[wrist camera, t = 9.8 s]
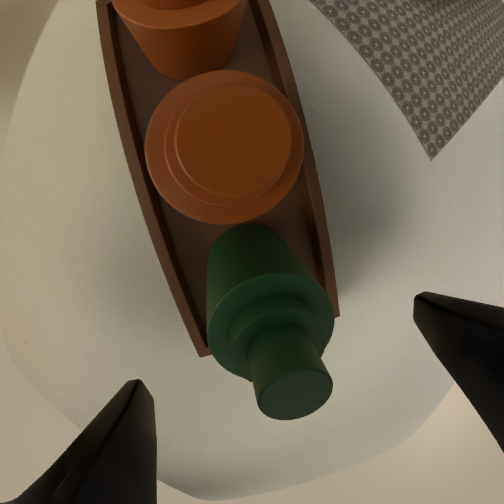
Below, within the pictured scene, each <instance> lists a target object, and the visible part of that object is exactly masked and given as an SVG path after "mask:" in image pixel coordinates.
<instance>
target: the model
mask: <svg viewBox="0 0 504 504" xmlns="http://www.w3.org/2000/svg"><path fill="white" fill-rule="evenodd" d="M310 1H311V2H312V3H313V4H314V5H315V6H316V7H317V8H318V9H320V10H321V11H322V12H323V13H324V14H325V15H326V16H327V17H328V18H329V19H330V21H331V22H332V23H333V24H334V25H335V26H336V27H337V28H338V29H339V30H340V31H341V32H342V33H343V34H344V36H345V37H346V38H347V39H348V40H349V41H350V42H351V43H352V45H353V46H354V47H355V48H356V49H357V50H358V52H359V53H360V54H361V55H362V56H363V58H364V59H365V60H366V61H367V63H368V64H369V65H370V66H371V68H372V69H373V70H374V72H375V73H376V74H377V76H378V77H379V78H380V80H381V81H382V82H383V84H384V85H385V86H386V88H387V89H388V91H389V92H390V94H391V95H392V96H393V98H394V99H395V101H396V102H397V104H398V105H399V107H400V108H401V110H402V111H403V113H404V114H405V116H406V118H407V119H408V121H409V122H410V124H411V126H412V127H413V129H414V131H415V132H416V134H417V136H418V137H419V139H420V141H421V143H422V144H423V146H424V148H425V150H426V152H427V154H428V155H429V157H430V159H431V161H432V159H433V158H434V157H435V156H436V155H437V154H438V153H439V152H440V151H441V150H442V149H443V147H444V146H445V145H446V144H447V143H448V142H449V141H450V140H451V139H452V137H453V136H454V135H455V134H456V133H457V132H458V131H459V129H460V128H461V127H462V126H463V125H464V124H465V123H466V121H467V120H468V119H469V118H470V117H471V116H472V114H473V113H474V112H475V111H476V110H477V108H478V107H479V106H480V105H481V104H482V102H483V101H484V100H485V99H486V97H487V96H488V95H489V94H490V93H491V91H492V90H493V89H494V88H495V86H496V85H497V84H498V82H499V81H500V80H501V79H502V77H503V76H504V3H503V1H502V0H310Z"/></svg>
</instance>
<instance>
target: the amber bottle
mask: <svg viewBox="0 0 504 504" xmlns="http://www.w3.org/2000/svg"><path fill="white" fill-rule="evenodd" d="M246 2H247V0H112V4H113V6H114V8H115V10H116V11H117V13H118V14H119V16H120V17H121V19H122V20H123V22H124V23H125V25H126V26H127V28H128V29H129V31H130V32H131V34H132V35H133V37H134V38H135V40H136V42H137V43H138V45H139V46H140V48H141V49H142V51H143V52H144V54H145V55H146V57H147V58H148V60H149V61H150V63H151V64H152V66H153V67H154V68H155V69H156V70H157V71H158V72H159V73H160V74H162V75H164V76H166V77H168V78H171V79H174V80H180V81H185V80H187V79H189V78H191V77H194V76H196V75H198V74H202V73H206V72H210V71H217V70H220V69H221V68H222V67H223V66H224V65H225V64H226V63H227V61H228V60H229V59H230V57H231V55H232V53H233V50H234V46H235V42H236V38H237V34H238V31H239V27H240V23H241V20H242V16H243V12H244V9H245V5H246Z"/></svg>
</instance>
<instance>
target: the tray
mask: <svg viewBox="0 0 504 504" xmlns="http://www.w3.org/2000/svg"><path fill="white" fill-rule="evenodd" d="M96 8H97V18H98V26H99V33H100V40H101V46H102V53H103V58H104V64H105V70H106V75H107V80H108V85H109V90H110V95H111V99H112V104H113V108H114V113H115V117H116V121H117V125H118V129H119V133H120V137H121V141H122V145H123V149H124V152H125V156H126V160H127V163H128V167H129V170H130V174H131V177H132V181H133V184H134V187H135V191H136V194H137V197H138V200H139V203H140V206H141V210H142V213H143V216H144V219H145V222H146V225H147V228H148V231H149V233H150V236H151V239H152V242H153V245H154V248H155V250H156V253H157V256H158V259H159V261H160V264H161V267H162V269H163V272H164V275H165V277H166V280H167V282H168V285H169V287H170V290H171V292H172V295H173V297H174V300H175V302H176V305H177V307H178V310H179V312H180V314H181V317H182V319H183V321H184V324H185V326H186V328H187V331H188V333H189V335H190V337H191V340H192V342H193V344H194V346H195V348H196V351H197V353H198V355H199V357H204V356H208V355H212V353H211V351H210V348H209V345H208V342H207V317H206V280H207V257H208V253H209V250H210V248H211V246H212V244H213V243H214V242H215V240H216V239H217V238H218V237H219V236H220V235H221V234H222V233H224V232H225V231H227V230H228V229H230V228H232V227H235V226H238V225H243V224H257V225H262V226H265V227H267V228H269V229H271V230H272V231H274V232H275V233H276V234H278V235H279V236H280V238H281V239H282V240H283V241H284V242H285V243H286V245H287V246H288V247H289V248H290V249H291V251H292V252H293V253H294V254H295V255H296V257H297V258H298V259H299V260H300V262H301V263H302V264H303V265H304V266H305V268H306V269H307V270H308V271H309V272H310V274H311V275H312V276H313V277H314V279H315V280H316V281H317V282H318V284H319V285H320V286H321V287H322V288H323V290H324V291H325V292H326V294H327V295H328V297H329V299H330V300H331V303H332V306H333V309H334V318H336V317H339V316H340V313H339V308H338V307H339V305H338V296H337V288H336V280H335V273H334V266H333V259H332V252H331V246H330V240H329V233H328V227H327V222H326V216H325V210H324V205H323V199H322V194H321V189H320V184H319V179H318V174H317V169H316V165H315V160H314V156H313V151H312V147H311V142H310V138H309V134H308V130H307V125H306V121H305V117H304V113H303V109H302V106H301V102H300V98H299V94H298V91H297V87H296V83H295V80H294V76H293V73H292V69H291V66H290V63H289V59H288V56H287V53H286V49H285V46H284V43H283V40H282V37H281V34H280V31H279V28H278V25H277V22H276V19H275V16H274V13H273V10H272V7H271V5H270V2H269V0H247V2H246V5H245V9H244V12H243V16H242V20H241V23H240V27H239V31H238V34H237V38H236V42H235V46H234V50H233V53H232V55H231V57H230V59H229V60H228V61H227V63H226V64H225V65H224V66H223V67H222V68H221V69H220V70H234V71H241V72H245V73H249V74H252V75H255V76H257V77H260V78H262V79H263V80H265V81H267V82H269V83H270V84H272V85H273V86H274V87H276V88H277V89H278V90H279V91H280V92H281V93H282V94H283V95H284V96H285V97H286V98H287V100H288V101H289V102H290V103H291V105H292V107H293V108H294V110H295V112H296V114H297V116H298V118H299V121H300V124H301V128H302V132H303V139H304V153H303V161H302V164H301V168H300V171H299V174H298V176H297V179H296V181H295V182H294V184H293V186H292V188H291V189H290V190H289V192H288V193H287V194H286V196H285V197H284V198H283V199H282V200H281V201H280V202H279V203H278V204H277V205H275V206H274V207H273V208H272V209H270V210H269V211H267V212H266V213H264V214H262V215H260V216H258V217H256V218H254V219H251V220H248V221H245V222H241V223H235V224H224V225H221V224H210V223H205V222H201V221H198V220H195V219H192V218H190V217H188V216H186V215H184V214H182V213H181V212H179V211H178V210H176V209H175V208H173V207H172V206H171V205H170V204H169V203H168V202H167V201H166V200H165V199H164V198H163V197H162V196H161V195H160V193H159V192H158V190H157V189H156V187H155V186H154V184H153V182H152V180H151V177H150V175H149V172H148V169H147V165H146V159H145V137H146V132H147V128H148V125H149V122H150V120H151V117H152V115H153V113H154V111H155V109H156V108H157V106H158V105H159V103H160V102H161V101H162V99H163V98H164V97H165V96H166V95H167V94H168V93H169V92H170V91H171V90H172V89H174V88H175V87H176V86H177V85H179V84H180V83H182V82H184V81H180V80H174V79H171V78H168V77H166V76H164V75H162V74H160V73H159V72H158V71H157V70H156V69H155V68H154V67H153V66H152V64H151V63H150V61H149V60H148V58H147V57H146V55H145V54H144V52H143V51H142V49H141V48H140V46H139V45H138V43H137V42H136V40H135V38H134V37H133V35H132V34H131V32H130V31H129V29H128V28H127V26H126V25H125V23H124V22H123V20H122V19H121V17H120V16H119V14H118V13H117V11H116V10H115V8H114V6H113V4H112V0H97V1H96Z"/></svg>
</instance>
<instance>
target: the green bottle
mask: <svg viewBox="0 0 504 504" xmlns="http://www.w3.org/2000/svg"><path fill="white" fill-rule="evenodd" d="M206 317H207V342H208V345H209V348H210V351H211V353H212V355H213V356H214V358H215V359H216V360H217V362H218V363H219V364H220V365H221V366H222V367H224V368H225V369H226V370H228V371H229V372H231V373H233V374H235V375H237V376H240V377H243V378H245V379H247V380H248V381H250V382H253V385H254V390H255V395H256V399H257V404H258V407H259V409H260V410H261V411H262V412H263V413H264V414H265V415H266V416H268V417H270V418H273V419H277V420H293V419H298V418H301V417H304V416H307V415H309V414H311V413H313V412H315V411H316V410H318V409H319V408H320V407H321V406H323V405H324V404H325V402H326V401H327V400H328V399H329V397H330V395H331V393H332V389H333V382H332V379H331V376H330V375H329V373H328V371H327V369H326V367H325V365H324V363H323V361H322V360H321V357H322V354H323V352H324V349H325V348H326V346H327V344H328V342H329V340H330V338H331V336H332V332H333V328H334V309H333V306H332V303H331V300H330V299H329V297H328V295H327V294H326V292H325V291H324V290H323V288H322V287H321V286H320V285H319V284H318V282H317V281H316V280H315V279H314V277H313V276H312V275H311V274H310V272H309V271H308V270H307V269H306V268H305V266H304V265H303V264H302V263H301V262H300V260H299V259H298V258H297V257H296V255H295V254H294V253H293V252H292V251H291V249H290V248H289V247H288V246H287V245H286V243H285V242H284V241H283V240H282V239H281V238H280V236H279V235H278V234H276V233H275V232H274V231H272V230H271V229H269V228H267V227H265V226H262V225H257V224H243V225H238V226H235V227H232V228H230V229H228V230H227V231H225V232H224V233H222V234H221V235H220V236H219V237H218V238H217V239H216V240H215V242H214V243H213V244H212V246H211V248H210V250H209V253H208V257H207V280H206Z"/></svg>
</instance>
